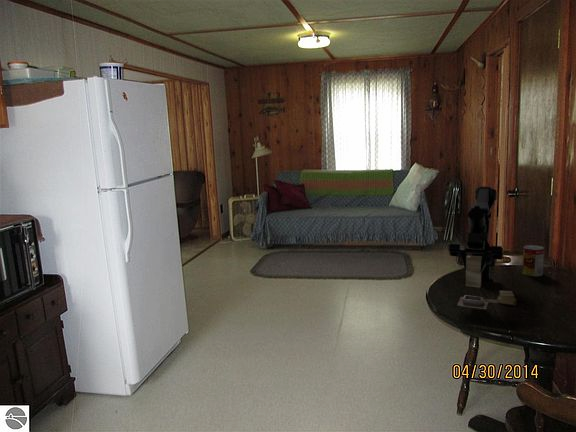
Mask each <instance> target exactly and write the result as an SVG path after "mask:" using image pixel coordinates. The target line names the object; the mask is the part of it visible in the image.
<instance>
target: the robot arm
mask: <svg viewBox="0 0 576 432" xmlns="http://www.w3.org/2000/svg"><path fill="white" fill-rule="evenodd" d="M474 194H475V196H474V198H475V199H474V200H476V202H475V203H474V204H471V208H470V209H469V210H468V212H467V219H468V223H469V232H467V239H466V240H467V241H466V245H467V247H466V246H463V245H461V243H458V242H455V243H454V242H450V243H449V245H448V254H449V256H450V257H457V258H458V259H460V260H461V261H462V264H463V268H464V272H466V257H467V254H471V256H482V264H481V270H480V271H481V281H492V280H494V279H493V277H492V276H491V274H490V273H491V271H490V270H491V267H492V268H493V267H495V266H496V260H501V261H502V260H503V259H504V247H503V246H501V245H491V244H490V243H489V242H490V226H491V218H492V217H493V216H492V215H493V213H492V209H493V208H494V207H495V204H496V201H497V199H498V192H497V190H496V189H494V188H492V187H491V186H478V188H477V189H475V193H474Z"/></svg>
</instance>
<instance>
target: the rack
mask: <svg viewBox="0 0 576 432" xmlns="http://www.w3.org/2000/svg"><path fill="white" fill-rule="evenodd" d="M489 303H490V304H491V303H493V304H500V305H501V304H502V305H506V304H505V303H499V296H497V299H491V298H489V299H488V298H484V296H476V295H467V294H464V296H460V298H459V301H458V302H457V305H456V306H457V307H462V308H463V307H464V308H472V309H478V310H479V309H480V310H487V307H488V304H489ZM507 305H510V306H517V298H514V304H507Z"/></svg>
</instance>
